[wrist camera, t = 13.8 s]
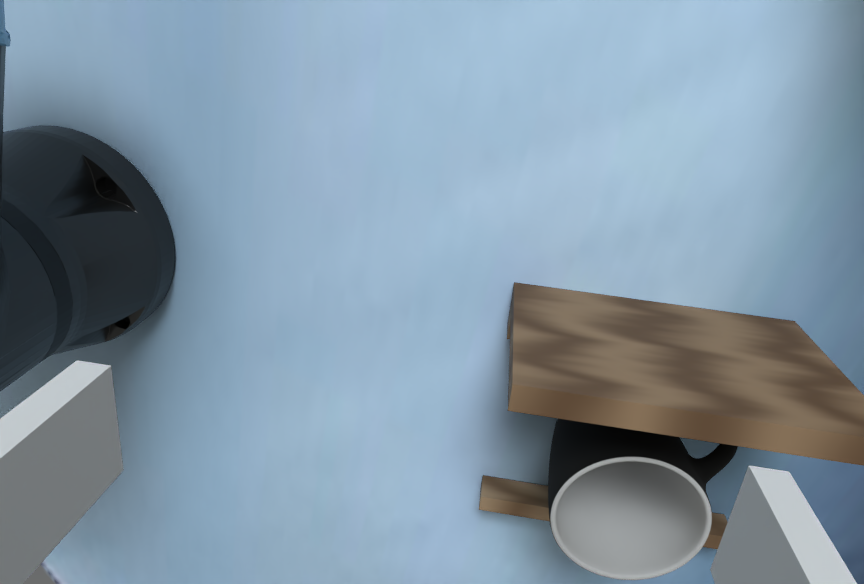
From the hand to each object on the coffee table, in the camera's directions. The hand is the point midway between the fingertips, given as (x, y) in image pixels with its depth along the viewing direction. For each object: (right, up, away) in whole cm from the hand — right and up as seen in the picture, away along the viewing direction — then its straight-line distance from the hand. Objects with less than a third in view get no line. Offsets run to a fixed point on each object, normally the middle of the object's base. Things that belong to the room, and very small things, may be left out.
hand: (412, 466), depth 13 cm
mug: (+14, -5, +32) cm, 35 cm away
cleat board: (+14, -5, +32) cm, 35 cm away
